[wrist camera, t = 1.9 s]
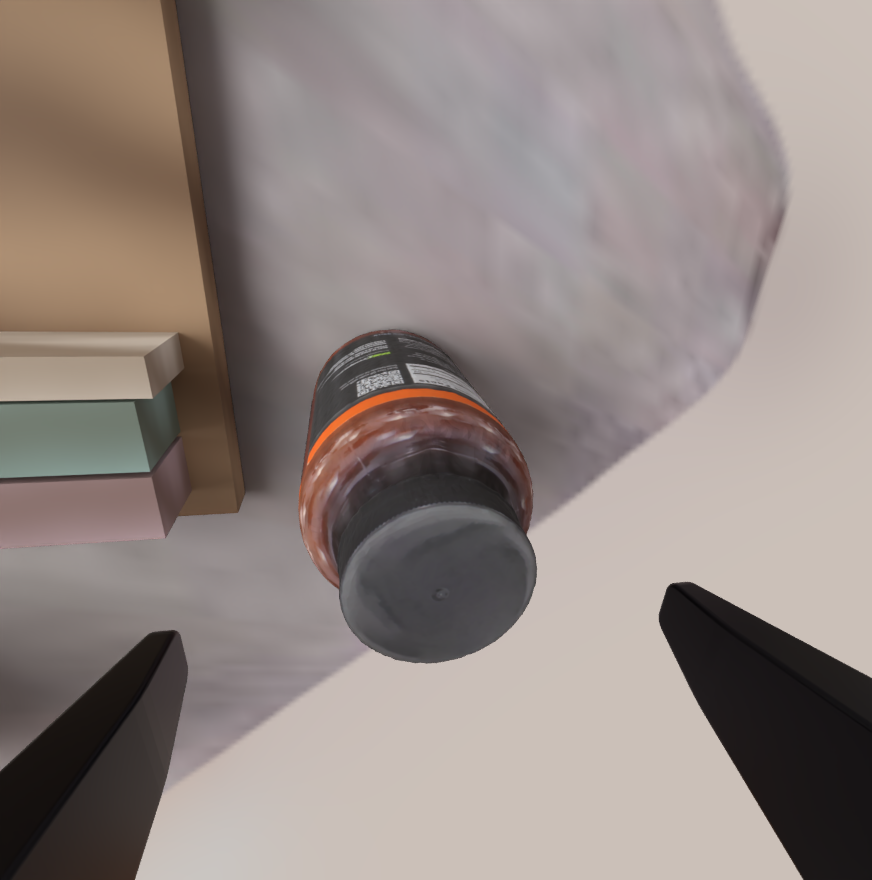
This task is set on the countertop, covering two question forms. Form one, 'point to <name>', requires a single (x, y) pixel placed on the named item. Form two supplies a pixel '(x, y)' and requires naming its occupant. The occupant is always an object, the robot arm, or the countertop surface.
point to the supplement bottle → (415, 501)
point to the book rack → (105, 283)
